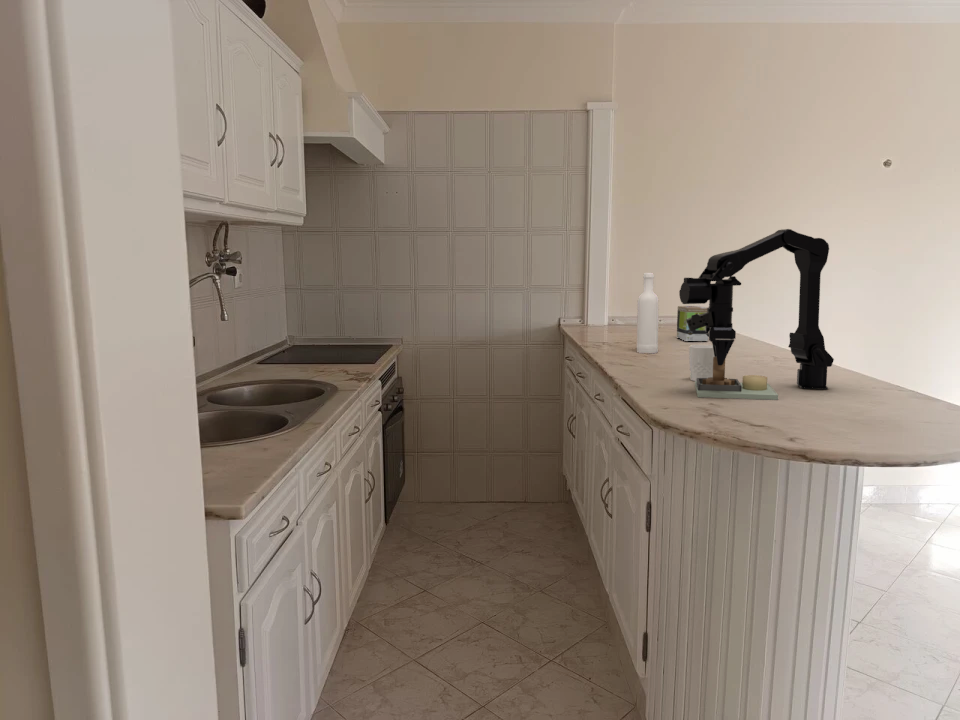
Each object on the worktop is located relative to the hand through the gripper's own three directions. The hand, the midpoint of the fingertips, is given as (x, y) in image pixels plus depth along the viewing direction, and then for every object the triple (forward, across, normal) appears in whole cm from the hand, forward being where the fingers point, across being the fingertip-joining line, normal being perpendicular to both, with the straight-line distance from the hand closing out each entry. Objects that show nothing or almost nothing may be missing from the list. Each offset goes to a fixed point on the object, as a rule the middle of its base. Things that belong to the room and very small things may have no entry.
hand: (718, 362), depth 181 cm
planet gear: (+7, 0, 0) cm, 7 cm away
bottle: (+8, -78, -20) cm, 81 cm away
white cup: (+8, -18, -3) cm, 20 cm away
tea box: (+8, -121, -2) cm, 121 cm away
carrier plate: (+8, 0, +4) cm, 9 cm away
